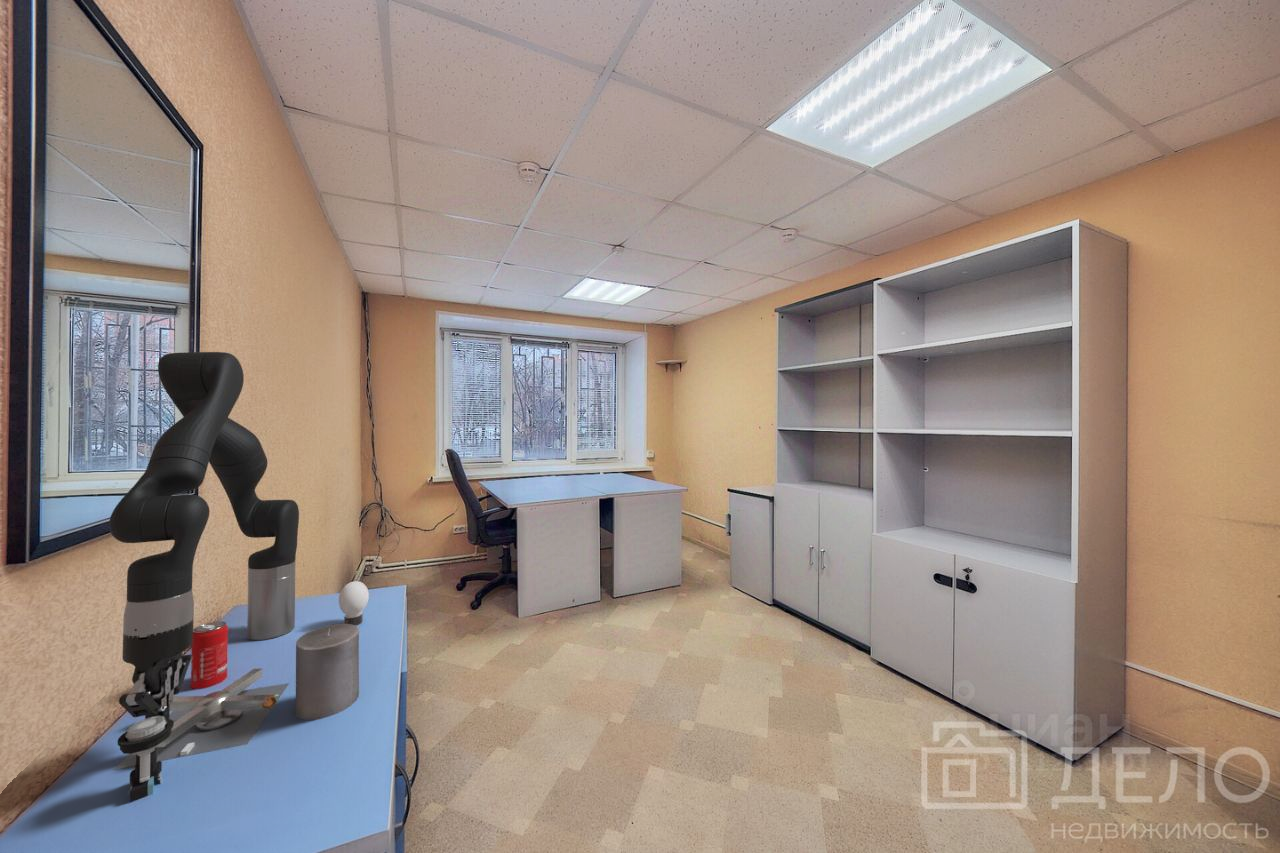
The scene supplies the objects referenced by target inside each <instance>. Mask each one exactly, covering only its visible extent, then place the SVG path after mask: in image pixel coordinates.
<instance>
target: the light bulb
mask: <svg viewBox="0 0 1280 853" xmlns="http://www.w3.org/2000/svg"><path fill="white" fill-rule="evenodd" d="M369 593H370V592H369V589H368V587H367V586H366V584H365V583H363V582H361V581H360V580H359V581H357V580H355V581H354V580H353V581H351V582H349V583H347V584H346V585H345V586H344V587H343V588H342V589H341V591H340V593H339V597H338V607H339V609H340V610H341V612H342V613H343V614H344V617H343V624H351V625H355V626H357V625H361V624H362V623H363V615H364V614H363V613H364V612H363V611H364V610H365V608H366V607H367V605H368V602H369V598H370V594H369Z"/></svg>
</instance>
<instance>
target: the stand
mask: <svg viewBox="0 0 1280 853" xmlns="http://www.w3.org/2000/svg"><path fill="white" fill-rule="evenodd" d="M289 684H290V682H288V683H287V682H286V683H281V684H276V685H275V684H274V685H269V686H263V687H257V688H249V689H244V690H243V691H242V692H240V693H239V694H237V695H275V697H276V699H277V700H276V703H277V702H278V701H279V699H280V697H281V696H282V694H283V693H284V692H285V691H286V689H287V687H288V686H289ZM273 707H274V706H273ZM273 707H271V708H269V709H267V710H243V715H242V716H241V717H240V718H239V719H238V720H237V721H235V722H234V723H232V724H230V725H228V726H226V727H223V728H221V729H218V730H214V731H209V732H199V731H197V730H196V724H195V725H194V726H192V727H191V728H189V729H188V730H187V731H185V732H184V733H182V734H181V735H180V736H178V737H177V738H175V739H174V740H172V741H171V742H170V743H168V744H167V745H165V746H164V747H155V748H156V755H157V762H158V761H161V762H163V761H167V760H172V759H177V758H178V759H179V758H183V757H188V756H194V755H199V754H203V753H209V752H214V751H218V750H219V751H220V750H224V749H225V750H226V749H229V748H234V747H239V746H243V745H244V746H245V745H248V744H249V742H250V741H251V739H252V738H253V737H254V735H255V734H256V732H257V731H258V729H259V728H260V727H261V725H262V723H263V722H264V721H265V719H266V718H267V717H268V715H269V714H270V712H271V710H272V709H273ZM189 712H190V711H171V713H170V715H169V719H171V720H173V722H175V721H177V720H178V719H180V718H181V717H183V716H184V715H186V714H187V713H189ZM136 755H137V754H127V755H126V757H125V758H124V759H123V760H122V761H120V762H119V764H118V765H116V766H115V767H114V768H113V771H116V770H120V769H121V770H122V769H127V768H132V767H135V765H136Z"/></svg>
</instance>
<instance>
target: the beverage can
mask: <svg viewBox="0 0 1280 853" xmlns="http://www.w3.org/2000/svg"><path fill="white" fill-rule="evenodd" d="M228 635H229V627H228V625H227V622H226V621H222V620H221V621H219V620H218V621H213V622H208V623H204V624H200V625H198V626H196V627H195V628H193V643H192V645H191V646H190V647H191V650H190V651H191V661H190V664H191V665H190V668H191V669H190V688H192V689H195V690H203V689H206V688H210V687H213V686H216V685H219V684H221V683H222V682H224V681H225V680H226V679H227V678H228V654H229V653H228V646H229V645H228V643H229V642H228V641H229V640H228V637H229V636H228Z"/></svg>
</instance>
